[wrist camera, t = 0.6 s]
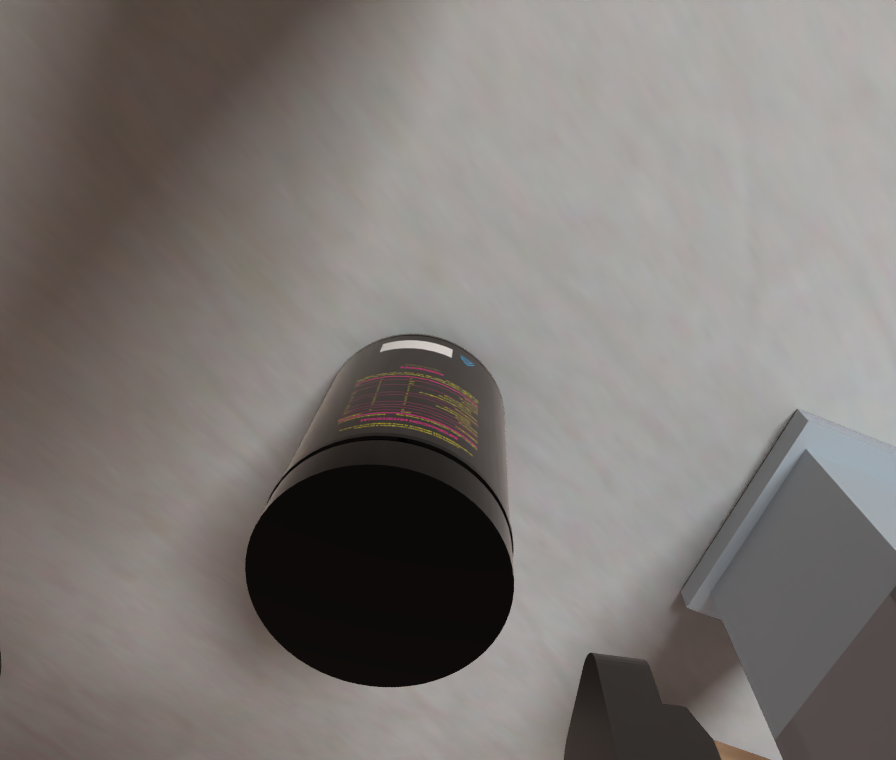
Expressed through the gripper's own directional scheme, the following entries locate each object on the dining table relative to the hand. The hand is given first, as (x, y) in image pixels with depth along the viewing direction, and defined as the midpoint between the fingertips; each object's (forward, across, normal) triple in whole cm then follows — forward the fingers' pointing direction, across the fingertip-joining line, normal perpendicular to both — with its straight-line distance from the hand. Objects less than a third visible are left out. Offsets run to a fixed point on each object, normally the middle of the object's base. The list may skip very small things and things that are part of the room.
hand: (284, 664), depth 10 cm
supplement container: (+18, -1, +3) cm, 18 cm away
